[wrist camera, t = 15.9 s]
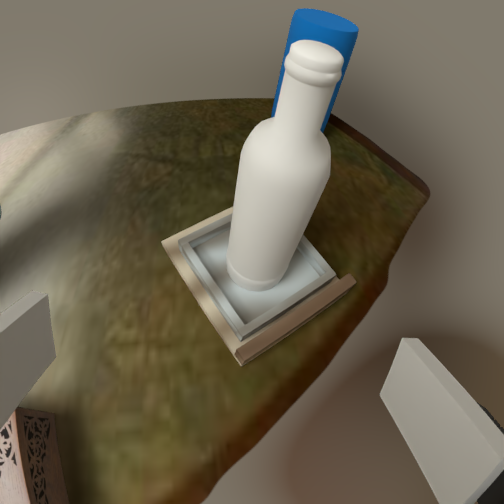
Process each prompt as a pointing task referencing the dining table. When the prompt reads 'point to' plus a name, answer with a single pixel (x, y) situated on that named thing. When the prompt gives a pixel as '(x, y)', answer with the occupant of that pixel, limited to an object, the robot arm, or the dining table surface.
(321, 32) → the thermos
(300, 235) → the bottle
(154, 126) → the dining table surface
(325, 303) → the tray
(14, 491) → the tissue box cover
